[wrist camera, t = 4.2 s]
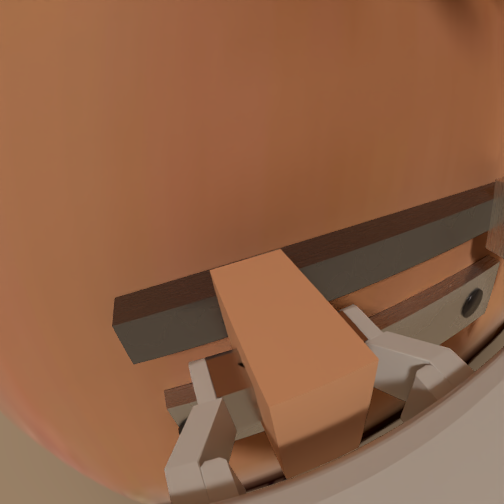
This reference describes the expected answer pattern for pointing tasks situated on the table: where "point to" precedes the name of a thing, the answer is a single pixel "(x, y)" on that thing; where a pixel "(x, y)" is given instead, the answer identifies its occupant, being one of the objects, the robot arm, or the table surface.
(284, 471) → the block
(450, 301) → the hole strip
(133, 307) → the rail
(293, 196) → the table surface
